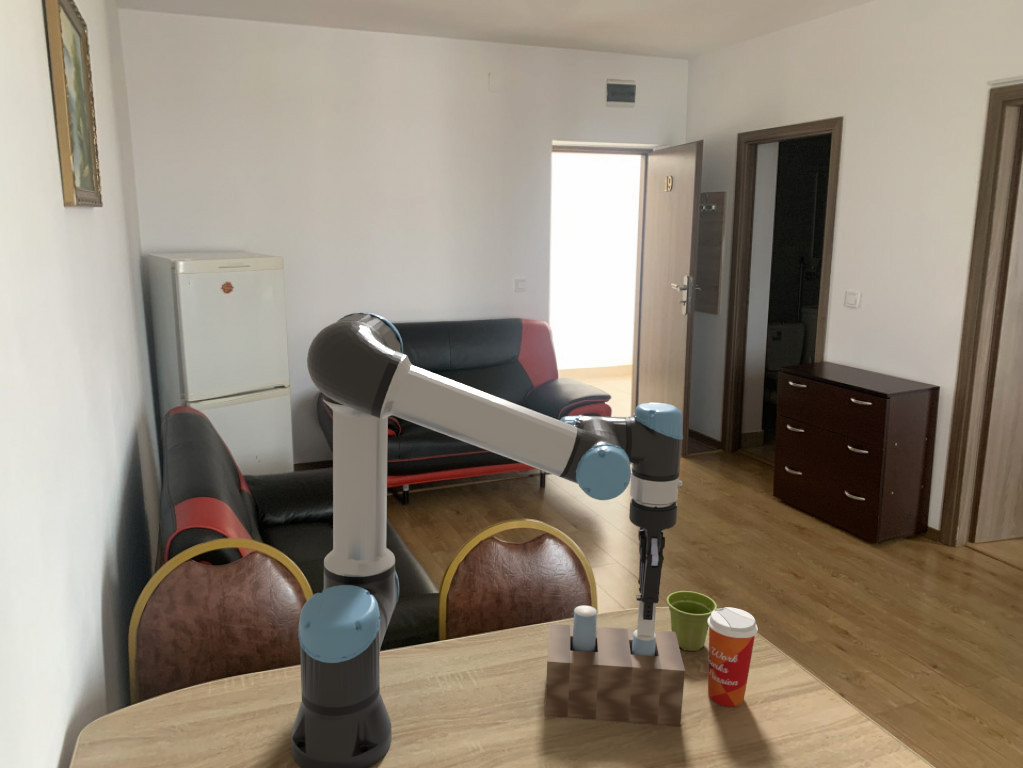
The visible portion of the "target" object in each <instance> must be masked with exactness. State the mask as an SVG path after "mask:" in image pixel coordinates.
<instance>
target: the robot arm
mask: <svg viewBox="0 0 1023 768" xmlns="http://www.w3.org/2000/svg"><path fill="white" fill-rule="evenodd" d="M307 351H308V352H307V358H306V363H307V370H308V374H309V377H310V379H311V381H312V383H313V384H314V386H315V387H316V388H317V389H318V390H319V391H320V392H321V393H322V400H323V402H324V403H325V404H326V405H327V406H328V407H329V408H330V409H331V410H332V443H333V444H332V462H333V463H332V491H333V492H332V495H333V496H332V498H333V500H332V508H333V509H332V510H333V511H332V513H333V516H332V520H333V521H332V523H333V524H332V527H333V528H332V538H333V539H332V540H333V541H332V542H333V543H332V550H330V552H329V553H327V554H326V556H325V557H324V559H323V589H322V592H317V593H314V594H313V595H312V596H310V597H309V599H307V600H306V602H305V603H304V604H303V606H302V608H301V611H300V614H299V623H298V633H297V636H298V641H299V657H300V661H299V662H300V663H299V664H300V681H301V682H300V685H301V686H300V687H301V688H300V689H301V701H300V706H299V708H298V711H297V714H296V718H295V721H294V724H293V727H292V728H291V729H292V730H291V735H290V747H291V748H290V749H291V750H290V751H291V755H292V758H293V759H294V761H295V762H296V763H297V765H299V766H300V767H301V768H369V767H372V766H373V765H374V764H376V763H377V762H378V761H380V760H381V759H382V758H384V756H385V755H386V753H387V752H388V751H389V749H390V746H391V745H392V737H393V735H392V732H393V731H392V722H391V721H392V720H391V718H390V715H389V712H388V709H387V708H386V704H385V702H384V700H383V697H382V695H381V691H380V690H381V689H380V688H381V687H380V683H381V682H380V679H381V678H380V676H381V675H380V673H381V672H380V658H381V657H380V654H381V647H382V646H383V645H382V644H383V642H384V637H385V636H386V632H387V630H388V626H389V624H390V621H391V618H392V615H393V613H394V612H395V609H396V606H397V603H398V601H399V597H400V581H399V577H398V574H397V571H396V558H395V554H394V553H393V552H392V551H391V550H390V549H389V548H387V519H388V518H387V510H388V509H387V505H388V503H387V502H388V500H387V499H388V498H387V496H388V439H389V437H388V435H389V433H388V430H389V429H388V425H389V423H388V421H389V417H391V416H394V417H396V418H399V419H402V420H404V421H407V422H411V423H413V424H415V425H418V426H421V427H423V428H426V429H429V430H431V431H434V432H437V433H440V434H443V435H446V436H448V437H451V438H453V439H455V440H459V441H461V442H464V443H467V444H469V445H472V446H476V447H477V448H480V449H483V450H484V451H485V450H486V451H489V452H491V453H494V454H496V455H500V456H502V457H504V458H507V459H511V460H512V461H516V462H518V463H521V464H524V465H527V466H529V467H532V468H535V469H537V470H540V471H543V472H545V473H548V474H550V475H554V476H556V477H559V478H561V479H564V480H567V481H569V482H572V483H575V484H577V485H578V486H579V488H580V489H581V490H582V491H583V493H585V494H586V495H587V496H588V497H590V498H592V499H594V500H597V501H609V500H613V499H616V498H617V497H619V496H620V495H622V494H623V493H624V492H625V491H626V489H627V488H628V487H629V485H630V490H629V492H630V493H629V495H630V497H631V499H630V500H629V513H628V514H629V515H628V516H629V517H628V518H629V521H630V522H631V524H632V525H634V526H635V527H638V528H639V529H638V532H637V536H638V542H639V543H638V553H639V563H638V564H639V566H638V568H639V569H638V579H637V583H638V585H639V588H638V591H639V594H636V601H638V605H637V606H638V609H637V623H636V624H637V625H636V629H637V634H638V635H645V636H654V630H655V631H656V613H657V604H658V603H659V601H660V597H659V596H660V589H661V587H660V586H661V580H662V579H661V577H662V569H663V563H664V561H665V557H664V554H663V553H664V549H665V546H666V536H664V531H665V530H669V529H672V528H673V527H674V526H676V524H677V517H678V503H677V501H678V498H679V488H680V487H682V486H683V481H682V480H680V468H681V457H682V446H683V445H682V444H683V439H684V435H683V428H684V427H683V419H684V418H683V412H682V410H680V408H678V407H677V406H676V405H673V404H670V403H664V402H663V403H662V402H647V403H646V402H645V403H640V404H637V406H636V407H635V410H634V413H633V416H626V417H625V416H601V415H599V416H597V415H584V414H579V415H568V416H563V417H561V418H560V419H557V418H554V417H551V416H549V415H546V414H543V413H541V412H538V411H535V410H533V409H530V408H527V407H525V406H522V405H519V404H517V403H514V402H511V401H509V400H506V399H505V398H501V397H498V396H496V395H493V394H490V393H488V392H484V391H482V390H480V389H477V388H475V387H473V386H470V385H466V384H464V383H461V382H458V381H455V380H454V379H450V378H449V377H445V376H442V375H440V374H437V373H434V372H431V371H430V370H427V369H425V368H421V367H419V366H415V365H413V363H411V361H410V359H409V356H408V355H407V354H405V353H404V344H403V338H402V337H401V334H400V332H399V330H398V328H397V327H396V326H395V325H394V324H393V323H392V321H390V320H389V319H387V318H386V317H384V316H382V315H379V314H377V313H372V312H366V311H364V312H363V311H362V312H352V313H350V314H346V315H344V316H342V317H341V318H339V319H338V320H337V321H335V322H333V323H332V324H329V325H327V326H326V327H324V328H323V329H321V330H320V331H319V332H318V333H317V334H316V336H314V338H313V339H312V341H311V343H310V345H309V347H308V350H307ZM631 466H632V467H631ZM678 487H679V488H678Z"/></svg>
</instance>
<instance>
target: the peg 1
mask: <svg viewBox="0 0 1023 768" xmlns="http://www.w3.org/2000/svg"><path fill="white" fill-rule="evenodd" d="M597 617H598V610H597V609H596V608H595V607H594V606H591V605H578V606H576V607H575V608H574V609H573V624H572V625H573V645H572V651H584V652H595V639H596V627H597V619H598V618H597Z"/></svg>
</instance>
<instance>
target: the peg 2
mask: <svg viewBox="0 0 1023 768" xmlns="http://www.w3.org/2000/svg"><path fill="white" fill-rule="evenodd" d="M655 645H656V634H655V633H654V636H645V635H638V634H637V630H635V631H634V632H633V643H632V655H645V656H655Z"/></svg>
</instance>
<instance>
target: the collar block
mask: <svg viewBox="0 0 1023 768" xmlns="http://www.w3.org/2000/svg"><path fill="white" fill-rule="evenodd" d="M635 630H637V628H620V627H605V626H596V639H595V652H584V651H572V645H573V624H559V623H557V624H556V623H549V624H548V640H547V641H548V642H547V660H546V661H547V662H546V679H545V680H546V682H545V683H546V684H545V707H544V708H545V709H544V717H549V718H559V719H560V718H561V719H562V718H563V719H576V720H591V721H603V722H605V721H606V722H617V723H618V722H619V723H632V724H645V725H646V724H648V725H656V726H657V725H658V726H673V727H681V724H682V723H681V722H682V713H683V712H682V711H683V698H684V688H685V687H684V685H685V674H686V669H685V665H684V662H683V657H682V653H681V649H680V647H679V645H678V641H677V637H676V633H675V632H672V630H671V631H667V630H666V631H665V630H656V629H655V630H654V633H655V634H656V645H655V656H645V655H632V643H633V632H634V631H635Z"/></svg>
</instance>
